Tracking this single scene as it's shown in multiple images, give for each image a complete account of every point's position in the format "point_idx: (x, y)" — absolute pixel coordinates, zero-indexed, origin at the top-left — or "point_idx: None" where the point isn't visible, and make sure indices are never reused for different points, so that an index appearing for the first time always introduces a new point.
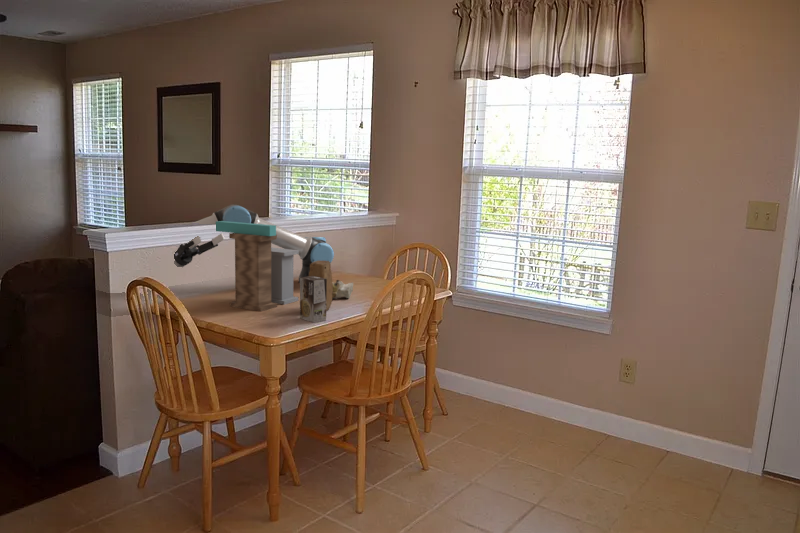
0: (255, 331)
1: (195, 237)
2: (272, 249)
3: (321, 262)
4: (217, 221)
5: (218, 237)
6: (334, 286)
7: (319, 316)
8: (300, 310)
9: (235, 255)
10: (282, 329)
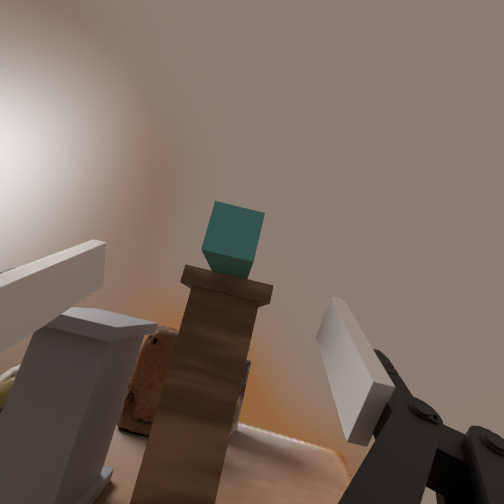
0: (337, 472)
1: (350, 312)
2: (96, 315)
3: (176, 331)
4: (255, 212)
5: (77, 270)
6: None
7: None
8: None
9: (245, 363)
10: (296, 450)
